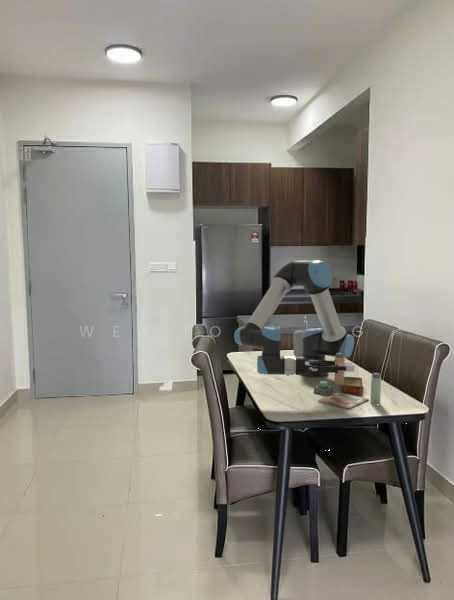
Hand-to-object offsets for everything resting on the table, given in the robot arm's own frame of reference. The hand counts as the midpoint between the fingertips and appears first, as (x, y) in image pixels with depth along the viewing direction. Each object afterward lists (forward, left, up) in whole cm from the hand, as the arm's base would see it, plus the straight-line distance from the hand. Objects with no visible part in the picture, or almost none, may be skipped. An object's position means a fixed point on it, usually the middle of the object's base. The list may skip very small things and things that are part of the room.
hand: (353, 366), depth 186 cm
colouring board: (0, -4, -15) cm, 16 cm away
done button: (-5, -17, -13) cm, 22 cm away
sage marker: (-6, +7, -15) cm, 18 cm away
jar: (-56, -62, -15) cm, 85 cm away
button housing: (-5, -17, -15) cm, 23 cm away
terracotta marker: (+4, -4, -7) cm, 9 cm away
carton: (-18, -10, -16) cm, 26 cm away
